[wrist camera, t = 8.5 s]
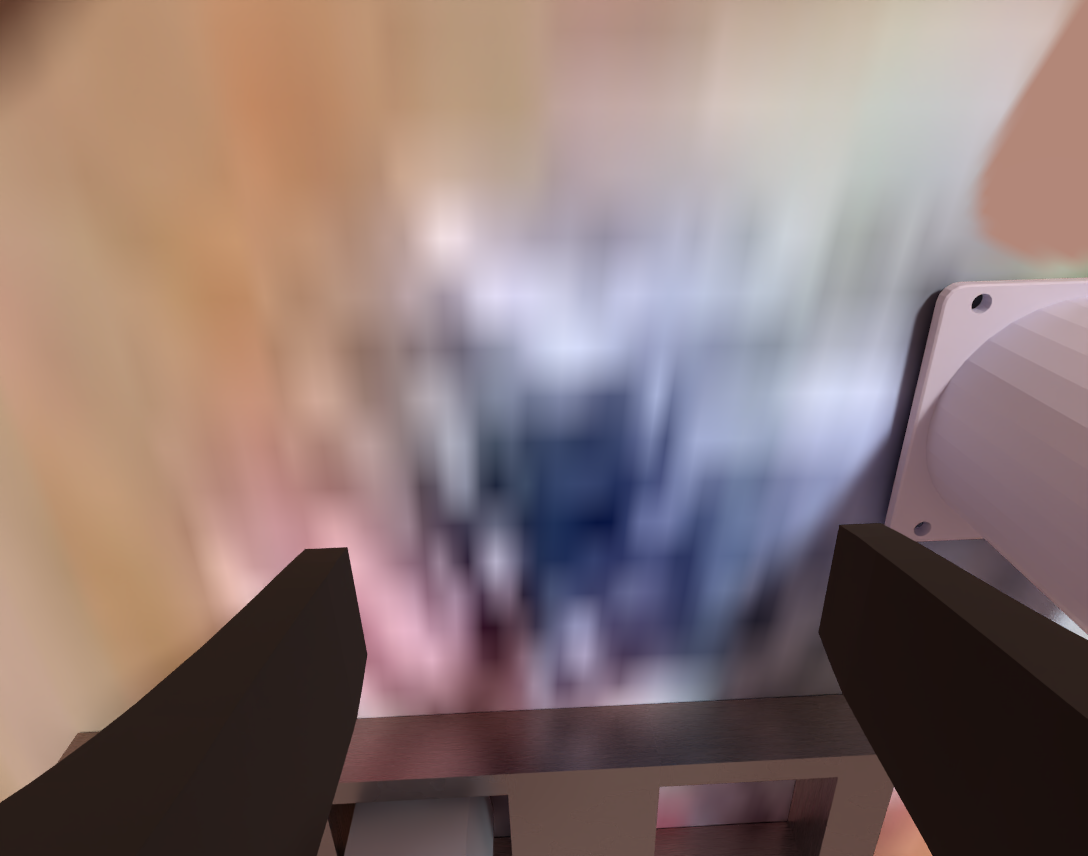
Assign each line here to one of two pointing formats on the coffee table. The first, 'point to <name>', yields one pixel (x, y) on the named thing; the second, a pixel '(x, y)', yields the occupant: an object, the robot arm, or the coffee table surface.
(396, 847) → the peg
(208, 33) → the coffee table surface
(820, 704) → the rail
